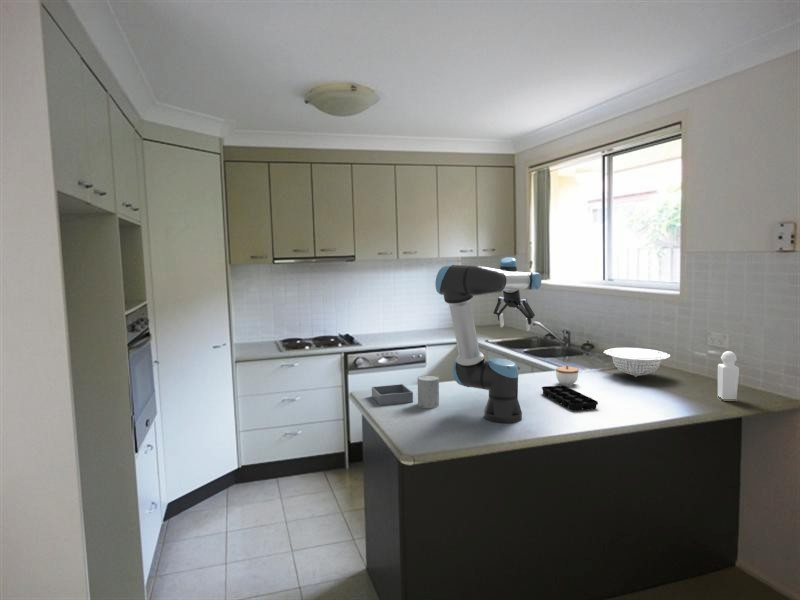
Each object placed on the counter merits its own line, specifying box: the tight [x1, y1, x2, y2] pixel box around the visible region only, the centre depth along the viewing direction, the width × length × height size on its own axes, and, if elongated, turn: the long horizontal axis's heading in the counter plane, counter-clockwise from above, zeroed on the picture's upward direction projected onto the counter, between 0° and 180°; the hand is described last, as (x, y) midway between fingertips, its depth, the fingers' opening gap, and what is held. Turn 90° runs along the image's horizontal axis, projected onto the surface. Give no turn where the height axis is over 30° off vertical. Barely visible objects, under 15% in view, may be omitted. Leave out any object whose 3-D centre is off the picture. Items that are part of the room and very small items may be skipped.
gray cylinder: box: [416, 374, 440, 409], centre depth 233 cm, size 10×10×12 cm
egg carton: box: [541, 385, 599, 412], centre depth 237 cm, size 18×30×4 cm, turn 25°
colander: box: [603, 347, 671, 378], centre depth 277 cm, size 32×32×13 cm
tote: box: [371, 383, 414, 406], centre depth 243 cm, size 15×15×4 cm
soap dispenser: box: [717, 350, 740, 400], centre depth 234 cm, size 6×6×22 cm
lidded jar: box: [555, 365, 579, 387], centre depth 266 cm, size 11×11×9 cm
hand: (515, 328), depth 259 cm, fingers open, 13 cm apart
